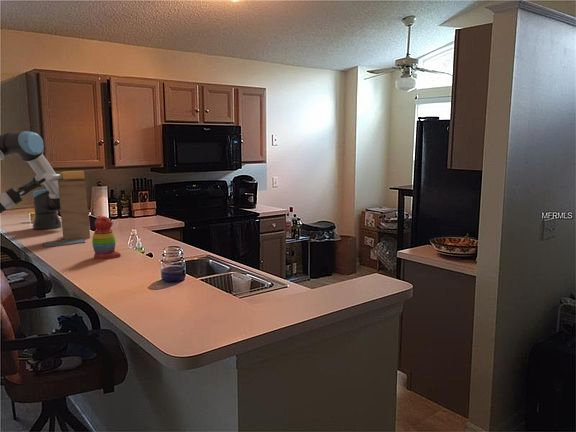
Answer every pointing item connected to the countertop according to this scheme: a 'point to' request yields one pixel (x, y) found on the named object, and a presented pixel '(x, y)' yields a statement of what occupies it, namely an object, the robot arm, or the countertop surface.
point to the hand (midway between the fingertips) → (50, 174)
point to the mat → (63, 242)
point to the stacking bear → (104, 239)
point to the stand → (74, 209)
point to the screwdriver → (64, 175)
